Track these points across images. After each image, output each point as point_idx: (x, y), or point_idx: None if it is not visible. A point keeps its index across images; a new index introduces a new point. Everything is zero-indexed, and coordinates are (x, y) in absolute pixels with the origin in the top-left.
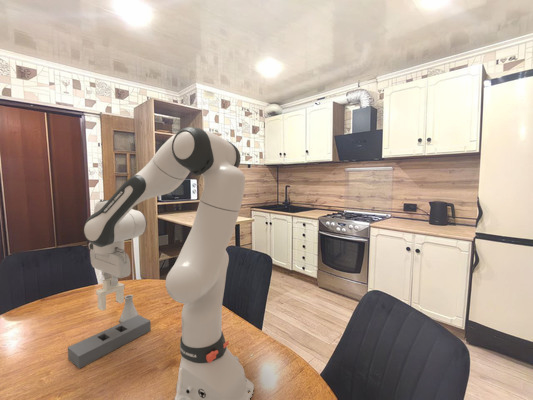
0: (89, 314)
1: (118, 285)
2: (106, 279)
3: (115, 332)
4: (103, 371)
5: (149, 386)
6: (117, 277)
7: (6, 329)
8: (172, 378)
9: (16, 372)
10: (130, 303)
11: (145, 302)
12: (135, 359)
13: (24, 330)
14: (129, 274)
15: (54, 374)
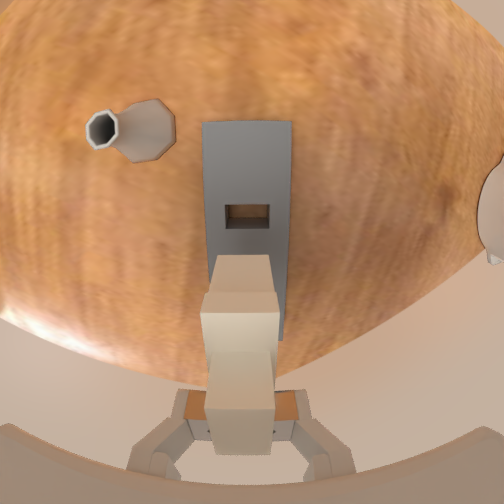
0: (37, 207)
1: (254, 345)
2: (223, 445)
3: (253, 240)
4: (337, 296)
5: (445, 263)
6: (337, 446)
7: (25, 328)
8: (466, 228)
9: (185, 373)
10: (129, 128)
11: (88, 49)
12: (369, 235)
13: (39, 317)
14: (492, 432)
15: None
